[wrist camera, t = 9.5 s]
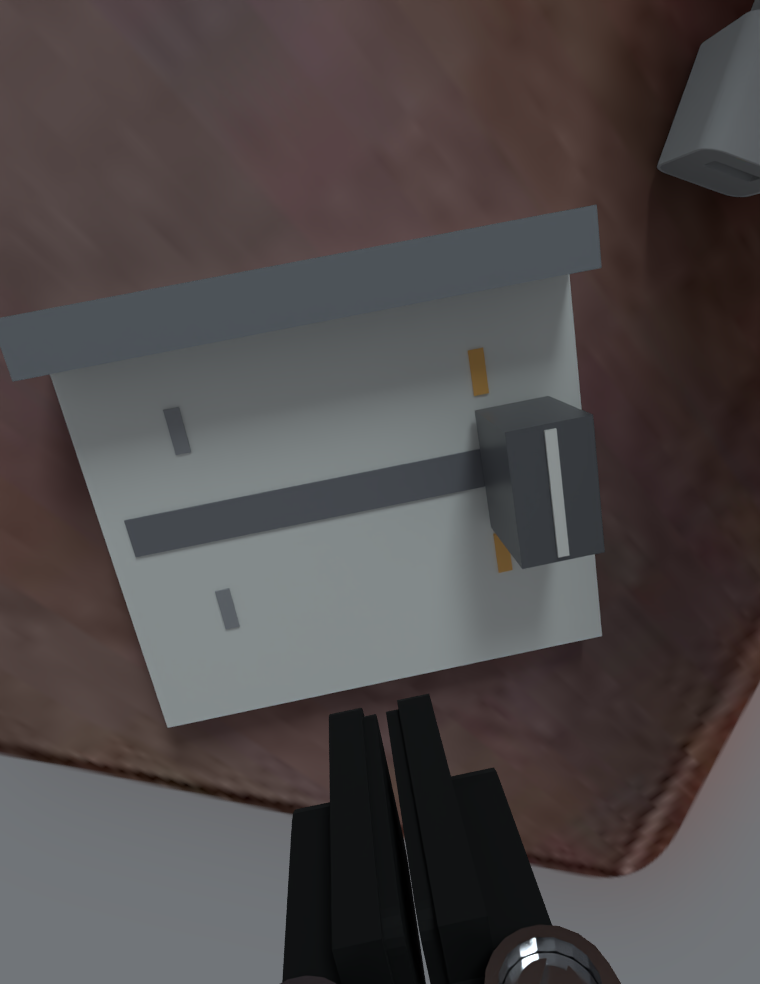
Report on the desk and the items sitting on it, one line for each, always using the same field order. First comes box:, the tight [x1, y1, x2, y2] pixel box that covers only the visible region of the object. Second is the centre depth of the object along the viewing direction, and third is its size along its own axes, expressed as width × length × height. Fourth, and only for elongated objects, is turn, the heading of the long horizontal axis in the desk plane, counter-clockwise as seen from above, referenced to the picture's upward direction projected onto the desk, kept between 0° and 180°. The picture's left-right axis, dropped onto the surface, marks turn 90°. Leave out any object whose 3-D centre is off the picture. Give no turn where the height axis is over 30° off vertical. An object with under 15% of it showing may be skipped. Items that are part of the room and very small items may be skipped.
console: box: [0, 205, 602, 728], centre depth 26 cm, size 20×18×5 cm
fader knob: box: [475, 396, 605, 569], centre depth 24 cm, size 3×5×4 cm, turn 11°
